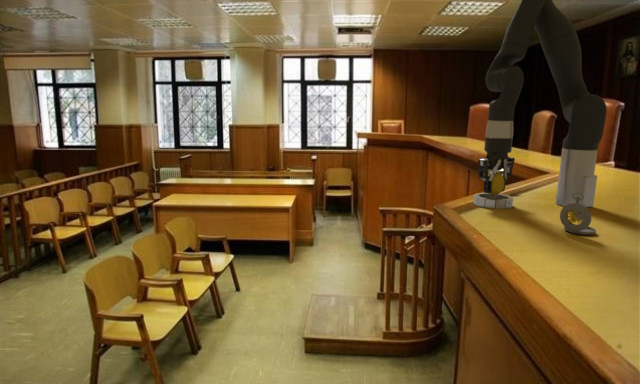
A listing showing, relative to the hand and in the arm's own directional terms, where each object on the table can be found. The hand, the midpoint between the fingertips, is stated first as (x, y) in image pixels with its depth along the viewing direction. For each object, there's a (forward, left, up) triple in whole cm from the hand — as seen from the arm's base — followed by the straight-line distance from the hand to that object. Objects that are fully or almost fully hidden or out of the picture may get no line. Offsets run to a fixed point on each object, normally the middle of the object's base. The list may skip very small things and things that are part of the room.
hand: (493, 191), depth 133 cm
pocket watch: (-30, +8, -4) cm, 31 cm away
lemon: (0, 0, -2) cm, 2 cm away
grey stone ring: (0, 0, -4) cm, 4 cm away
